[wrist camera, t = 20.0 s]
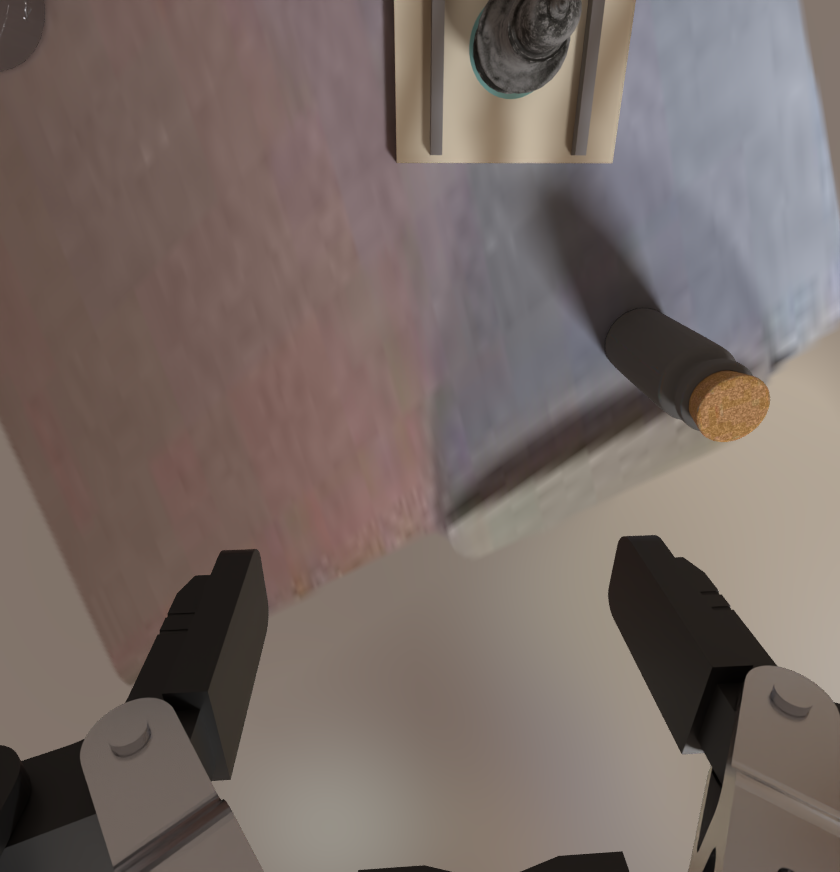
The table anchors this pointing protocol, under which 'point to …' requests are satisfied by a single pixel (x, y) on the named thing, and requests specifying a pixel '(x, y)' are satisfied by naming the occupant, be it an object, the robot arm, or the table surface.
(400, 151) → the board
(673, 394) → the bottle
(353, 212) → the table surface
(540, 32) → the salt shaker
